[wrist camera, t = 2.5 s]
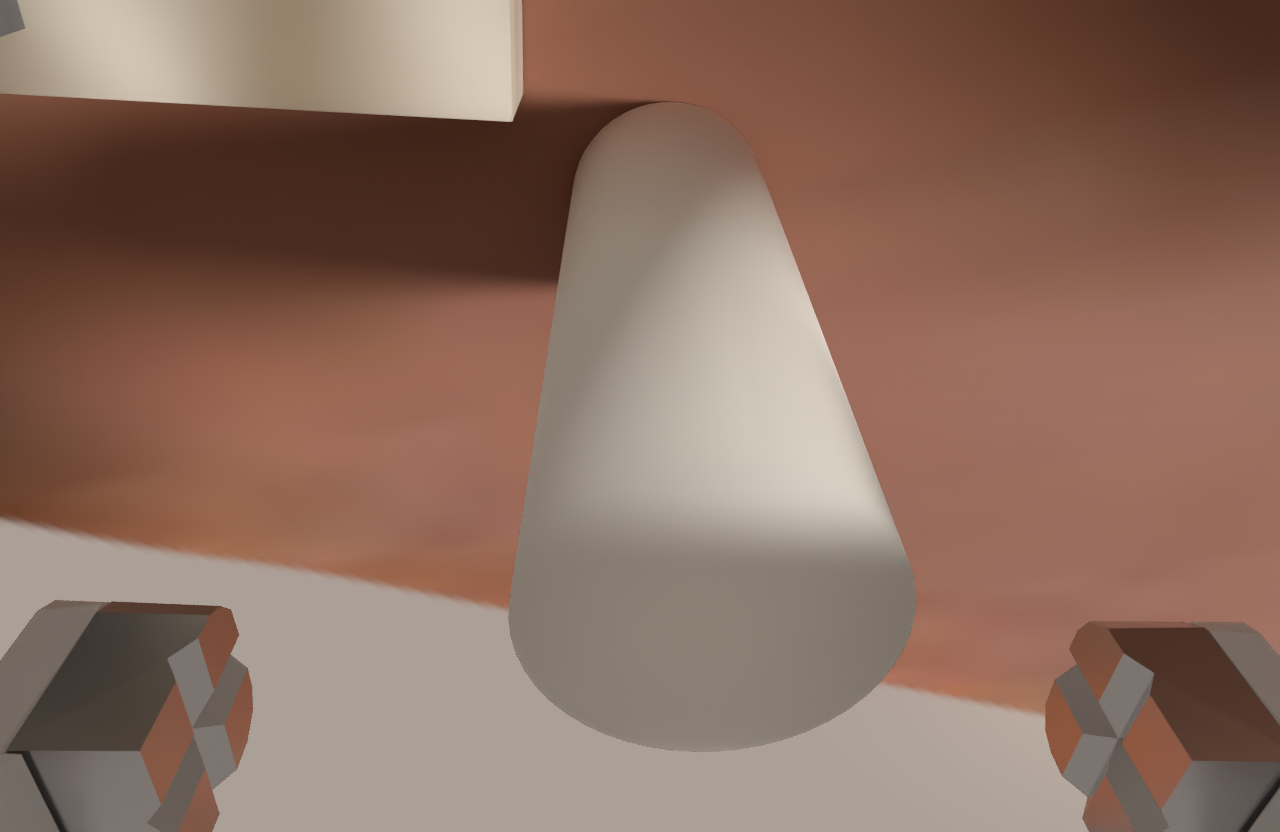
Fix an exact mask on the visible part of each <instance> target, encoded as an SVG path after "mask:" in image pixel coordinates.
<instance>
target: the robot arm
mask: <svg viewBox="0 0 1280 832" xmlns="http://www.w3.org/2000/svg"><path fill="white" fill-rule="evenodd" d="M238 636H239V633H238V630H237V627H236V624H235V621H234V618H233V614H232V611H231V610H230V609H227V608H224V607H221V606H203V605H181V604H157V603H133V602H111V603H109V602H86V601H62V600H55V601H53V602H52V603H50V604H48V605H46V606H45V607H43V608H41V609H40V610H39V611H37V613H35V615H34V616H33V617H32V619H31V620H30V621H29V623H28V624H27V625H26V627H25V628H24V630H23V631H22V632H21V634H20V635H19V636H18V638H17V639H16V640H15V642H14V643H13V644H12V646H11V647H10V648H9V650H8V651H7V653H6V654H5V655H4V657H3V658H2V659H1V661H0V832H212V831H213V829H214V826H215V824H216V821H217V819H218V816H219V810H218V807H217V804H216V801H215V797H214V794H213V791H212V790H213V789H214V788H215V787H216V786H218V785H219V784H220V783H221V782H222V781H223V780H225V779H226V778H227V777H228V776H230V774H232V773H233V772H234V771H235V770H237V768H238V765H239V763H240V760H241V757H242V755H243V752H244V749H245V746H246V744H247V741H248V735H249V730H250V724H251V718H252V713H253V698H252V697H253V696H252V684H251V680H250V676H249V671H248V668H247V667H245V666H244V665H243V664H242V663H240V662H239V661H238V660H237V659H235V658H234V657H233V656H232V655H231V652H232V650H233V647H234V645H235V643H236V641H237V638H238ZM1069 650H1070V652H1071V654H1072V656H1073V658H1074V660H1075V662H1076V664H1077V665H1075V666H1074V667H1072V668H1071V669H1070V670H1068V671H1067V672H1065V673H1064V674H1062V675H1061V676H1060V677H1058V678H1057V679H1055V680H1054V683H1053V685H1052V688H1051V691H1050V693H1049V696H1048V698H1047V701H1046V703H1045V731H1046V735H1047V739H1048V742H1049V746H1050V750H1051V753H1052V756H1053V758H1054V759H1055V762H1056V764H1057V766H1058V769H1059V771H1060V773H1061V775H1062V776H1063V777H1064V778H1065V779H1066V780H1067V781H1069V782H1070V783H1071V784H1073V785H1074V786H1075V787H1076V788H1077V789H1079V790H1080V791H1081V792H1082V793H1083V794H1085V795H1086V796H1087V802H1086V806H1085V809H1084V813H1083V820H1084V822H1085V824H1086V827H1087V829H1088V831H1089V832H1280V656H1279V655H1278V654H1277V653H1276V652H1275V650H1274V649H1273V648H1272V647H1271V646H1270V644H1269V643H1268V642H1267V641H1266V640H1265V638H1264V637H1263V636H1262V635H1261V634H1260V633H1259V632H1258V631H1256V630H1255V629H1253V628H1251V627H1250V626H1248V625H1247V624H1245V623H1243V622H1190V623H1184V622H1130V621H1089V622H1088V623H1087V624H1085V625H1084V626H1083V627H1081V628H1080V629H1079V630H1078V631H1077V633H1076V635H1075V637H1074V639H1073V641H1072V643H1071V645H1070V647H1069Z"/></svg>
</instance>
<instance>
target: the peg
mask: <svg viewBox="0 0 1280 832" xmlns="http://www.w3.org/2000/svg"><path fill="white" fill-rule="evenodd" d="M915 608H916V590H915V583H914V576H913V572H912V569H911V566H910V564H909V561H908V558H907V555H906V552H905V550H904V547H903V544H902V542H901V539H900V537H899V534H898V531H897V529H896V526H895V523H894V521H893V518H892V515H891V513H890V510H889V507H888V505H887V502H886V500H885V497H884V494H883V492H882V489H881V486H880V484H879V481H878V478H877V476H876V473H875V471H874V468H873V465H872V463H871V460H870V457H869V455H868V452H867V449H866V447H865V444H864V442H863V439H862V436H861V434H860V431H859V428H858V426H857V423H856V420H855V418H854V415H853V413H852V410H851V407H850V405H849V402H848V399H847V397H846V394H845V391H844V389H843V386H842V384H841V381H840V378H839V376H838V373H837V370H836V368H835V365H834V362H833V360H832V357H831V355H830V352H829V349H828V347H827V344H826V341H825V339H824V336H823V333H822V331H821V328H820V325H819V323H818V320H817V318H816V315H815V312H814V310H813V307H812V304H811V302H810V299H809V296H808V294H807V291H806V289H805V286H804V283H803V281H802V278H801V275H800V273H799V270H798V267H797V265H796V262H795V260H794V257H793V254H792V252H791V249H790V246H789V244H788V241H787V238H786V236H785V233H784V231H783V228H782V225H781V223H780V220H779V217H778V215H777V212H776V209H775V207H774V204H773V202H772V199H771V196H770V194H769V191H768V188H767V186H766V183H765V180H764V178H763V175H762V173H761V170H760V167H759V165H758V162H757V159H756V157H755V155H754V153H753V151H752V149H751V147H750V145H749V144H748V143H747V141H746V140H745V138H744V137H743V136H742V134H741V133H740V132H739V131H738V130H737V129H736V128H735V127H734V126H733V125H731V124H730V123H729V122H728V121H726V120H725V119H724V118H722V117H721V116H719V115H717V114H715V113H714V112H712V111H709V110H707V109H705V108H702V107H699V106H695V105H692V104H687V103H679V102H659V103H653V104H647V105H644V106H640V107H637V108H634V109H632V110H630V111H627V112H625V113H623V114H622V115H620V116H618V117H617V118H615V119H613V120H612V121H611V122H609V123H608V124H607V125H606V126H605V127H603V128H602V129H601V130H600V131H599V132H598V133H597V135H596V136H595V137H594V138H593V139H592V141H591V142H590V143H589V145H588V146H587V148H586V149H585V151H584V153H583V155H582V157H581V159H580V161H579V164H578V167H577V170H576V174H575V178H574V183H573V189H572V196H571V202H570V209H569V215H568V222H567V228H566V235H565V241H564V248H563V254H562V261H561V267H560V274H559V280H558V287H557V293H556V300H555V306H554V313H553V319H552V326H551V332H550V339H549V345H548V352H547V359H546V365H545V372H544V378H543V385H542V391H541V398H540V404H539V411H538V417H537V424H536V430H535V437H534V443H533V450H532V456H531V463H530V469H529V476H528V482H527V489H526V495H525V502H524V508H523V515H522V522H521V528H520V535H519V541H518V548H517V554H516V561H515V567H514V574H513V580H512V587H511V593H510V601H509V617H508V619H509V627H510V635H511V639H512V642H513V646H514V649H515V652H516V655H517V657H518V659H519V661H520V663H521V665H522V666H523V669H524V670H525V672H526V673H527V675H528V676H529V678H530V679H531V680H532V682H533V683H534V684H535V686H536V687H537V688H538V689H539V690H540V691H541V692H542V693H543V694H544V695H545V696H546V697H547V698H548V699H549V700H550V701H551V702H552V703H553V704H555V705H556V706H557V707H559V708H560V709H561V710H562V711H564V712H565V713H566V714H568V715H569V716H571V717H573V718H574V719H576V720H578V721H579V722H581V723H583V724H584V725H586V726H588V727H591V728H593V729H595V730H597V731H599V732H601V733H604V734H606V735H609V736H612V737H615V738H618V739H621V740H623V741H627V742H631V743H635V744H639V745H643V746H647V747H653V748H660V749H666V750H677V751H691V752H706V751H707V752H710V751H726V750H737V749H743V748H749V747H755V746H761V745H765V744H769V743H772V742H776V741H780V740H784V739H787V738H790V737H793V736H795V735H798V734H801V733H804V732H806V731H809V730H811V729H813V728H815V727H817V726H820V725H822V724H824V723H826V722H828V721H830V720H831V719H833V718H835V717H836V716H838V715H840V714H842V713H843V712H845V711H846V710H848V709H849V708H851V707H852V706H853V705H855V704H856V703H857V702H859V701H860V700H861V699H863V698H864V697H865V696H866V695H867V694H868V693H870V692H871V691H872V690H873V689H874V688H875V687H876V686H877V685H878V684H879V683H880V682H881V681H882V680H883V678H884V677H885V676H886V675H887V674H888V672H889V671H890V670H891V669H892V667H893V666H894V664H895V663H896V661H897V660H898V658H899V656H900V655H901V653H902V651H903V650H904V647H905V645H906V643H907V640H908V638H909V635H910V633H911V630H912V625H913V621H914V616H915Z"/></svg>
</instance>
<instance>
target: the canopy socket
mask: <svg viewBox="0 0 1280 832" xmlns="http://www.w3.org/2000/svg"><path fill="white" fill-rule="evenodd" d="M0 93H2V94H20V95H38V96H56V97H73V98H91V99H109V100H127V101H145V102H163V103H181V104H199V105H217V106H235V107H253V108H271V109H289V110H307V111H325V112H343V113H361V114H379V115H397V116H415V117H433V118H451V119H469V120H487V121H505V122H512V121H513V119H514V116H515V113H516V111H517V108H518V106H519V103H520V101H521V98H522V95H523V41H522V0H0Z"/></svg>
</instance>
